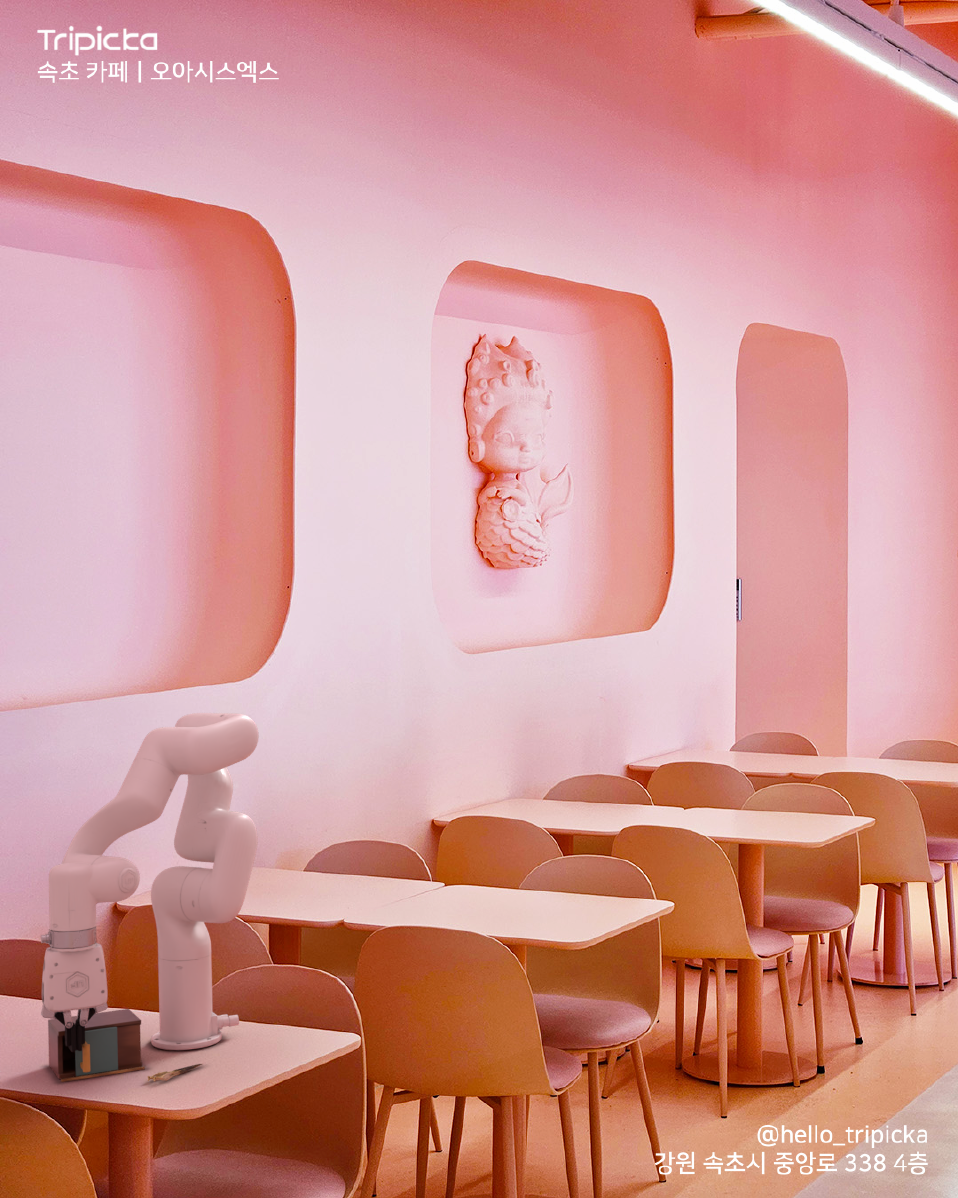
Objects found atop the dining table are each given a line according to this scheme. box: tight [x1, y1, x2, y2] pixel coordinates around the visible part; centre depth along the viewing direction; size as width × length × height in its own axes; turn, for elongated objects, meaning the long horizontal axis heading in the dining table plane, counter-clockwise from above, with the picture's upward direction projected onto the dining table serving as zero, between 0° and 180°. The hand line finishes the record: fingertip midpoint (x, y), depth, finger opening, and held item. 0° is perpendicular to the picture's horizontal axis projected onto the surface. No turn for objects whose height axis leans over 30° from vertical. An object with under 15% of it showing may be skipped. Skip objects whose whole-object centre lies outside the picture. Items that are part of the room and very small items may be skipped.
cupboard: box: [47, 1008, 146, 1083], centre depth 263 cm, size 14×11×8 cm
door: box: [75, 1027, 118, 1077], centre depth 257 cm, size 7×4×7 cm, turn 116°
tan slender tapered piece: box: [147, 1063, 203, 1083], centre depth 257 cm, size 12×3×1 cm, turn 142°
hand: (75, 1049), depth 254 cm, fingers closed
